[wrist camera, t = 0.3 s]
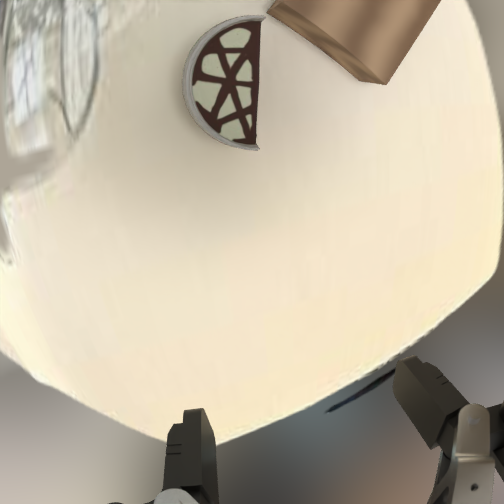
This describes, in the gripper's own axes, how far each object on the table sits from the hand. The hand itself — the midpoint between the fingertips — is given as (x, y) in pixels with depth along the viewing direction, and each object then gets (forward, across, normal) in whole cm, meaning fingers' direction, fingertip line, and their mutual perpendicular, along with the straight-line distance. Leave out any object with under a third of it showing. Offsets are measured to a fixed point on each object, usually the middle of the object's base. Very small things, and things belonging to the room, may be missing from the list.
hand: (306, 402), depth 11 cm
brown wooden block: (+23, -17, -28) cm, 40 cm away
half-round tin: (+25, +1, -18) cm, 31 cm away
